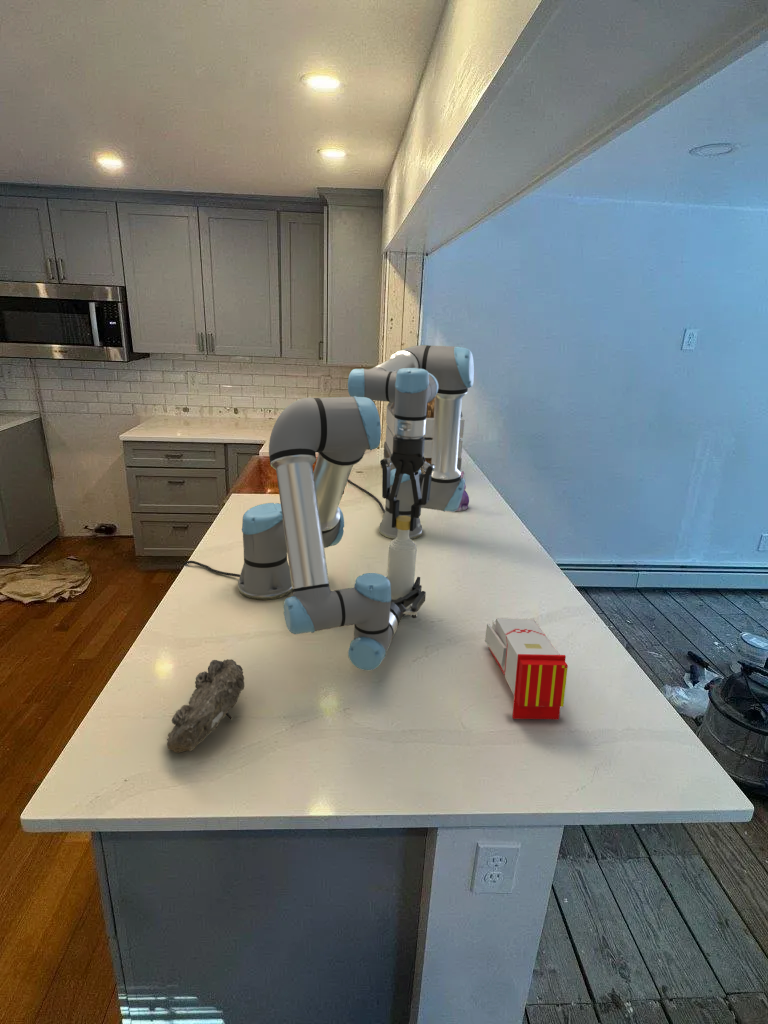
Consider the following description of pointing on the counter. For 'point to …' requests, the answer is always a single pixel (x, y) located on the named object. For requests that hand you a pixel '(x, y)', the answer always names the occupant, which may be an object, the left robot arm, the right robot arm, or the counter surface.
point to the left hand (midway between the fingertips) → (404, 579)
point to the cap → (403, 522)
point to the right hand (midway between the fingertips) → (403, 527)
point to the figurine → (463, 498)
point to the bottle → (401, 565)
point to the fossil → (206, 705)
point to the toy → (529, 667)
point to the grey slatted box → (428, 436)
